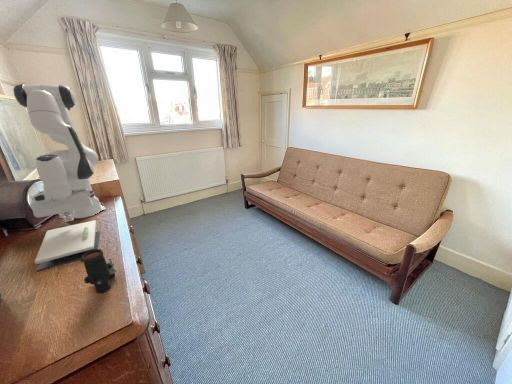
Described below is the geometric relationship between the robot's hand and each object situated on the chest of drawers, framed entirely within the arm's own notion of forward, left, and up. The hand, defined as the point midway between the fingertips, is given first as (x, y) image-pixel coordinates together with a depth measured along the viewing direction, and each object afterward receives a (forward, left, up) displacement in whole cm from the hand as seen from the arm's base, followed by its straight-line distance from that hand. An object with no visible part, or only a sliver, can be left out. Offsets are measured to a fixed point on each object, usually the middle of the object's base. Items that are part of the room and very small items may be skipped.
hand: (69, 220), depth 98 cm
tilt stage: (+9, 0, -5) cm, 10 cm away
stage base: (+9, 0, -10) cm, 14 cm away
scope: (+44, +13, -11) cm, 47 cm away
